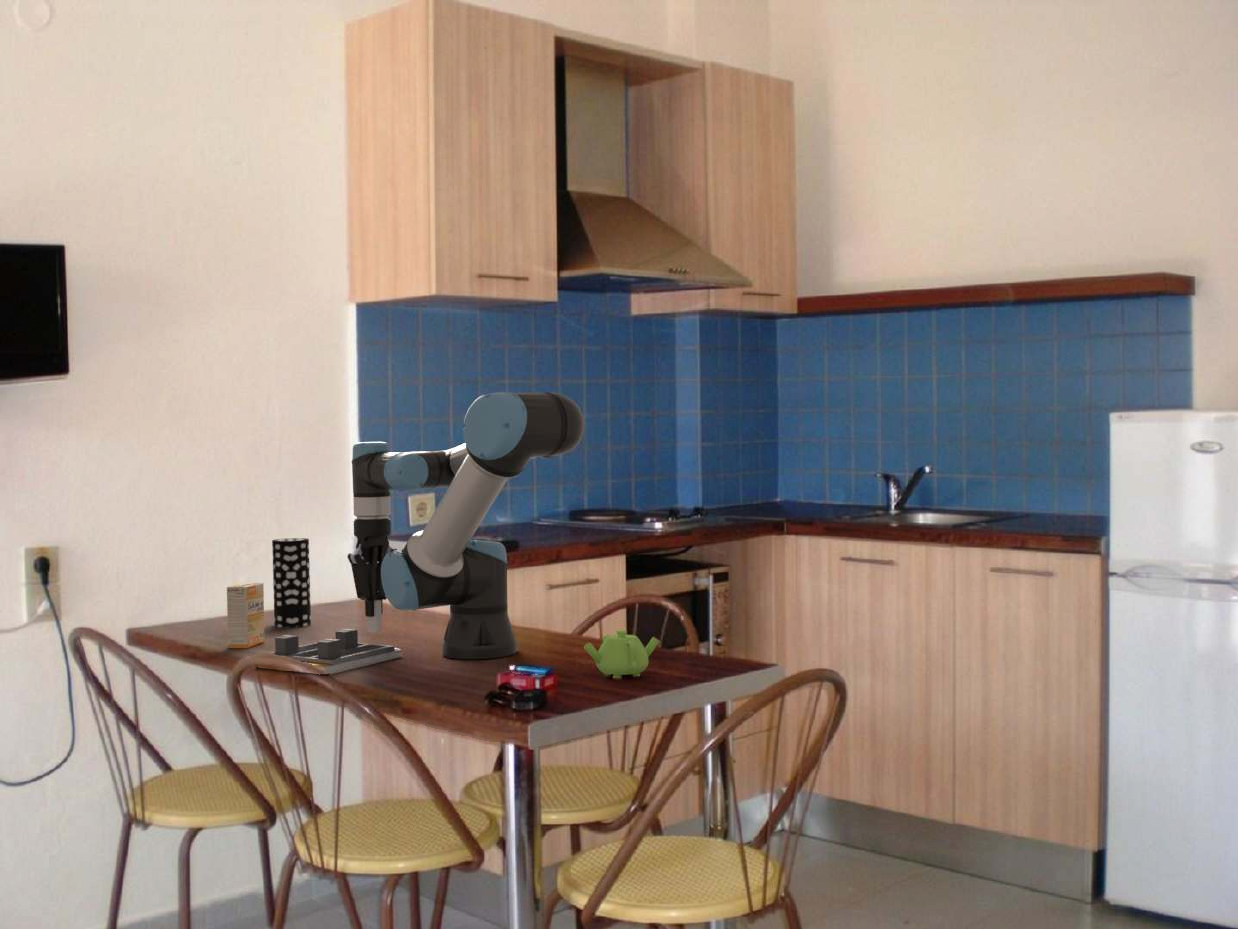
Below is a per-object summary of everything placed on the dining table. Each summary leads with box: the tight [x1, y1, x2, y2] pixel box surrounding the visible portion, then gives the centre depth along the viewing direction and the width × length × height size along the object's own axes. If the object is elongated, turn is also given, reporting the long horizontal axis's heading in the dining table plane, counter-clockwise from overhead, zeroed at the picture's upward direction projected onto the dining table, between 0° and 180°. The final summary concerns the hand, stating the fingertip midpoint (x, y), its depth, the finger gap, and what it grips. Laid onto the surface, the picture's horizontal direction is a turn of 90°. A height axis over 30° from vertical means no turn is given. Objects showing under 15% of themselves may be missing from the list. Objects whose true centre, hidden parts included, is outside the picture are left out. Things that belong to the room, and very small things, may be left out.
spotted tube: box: [271, 537, 312, 629], centre depth 323 cm, size 8×8×20 cm
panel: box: [270, 642, 403, 675], centre depth 272 cm, size 18×22×2 cm
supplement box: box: [226, 582, 265, 649], centre depth 294 cm, size 8×5×13 cm, turn 168°
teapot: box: [583, 629, 661, 678], centre depth 252 cm, size 11×12×8 cm
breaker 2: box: [316, 638, 341, 660], centre depth 264 cm, size 3×4×4 cm
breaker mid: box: [335, 628, 359, 650], centre depth 276 cm, size 3×4×4 cm
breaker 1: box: [274, 634, 300, 655], centre depth 269 cm, size 3×4×4 cm
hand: (374, 631), depth 283 cm, fingers closed
